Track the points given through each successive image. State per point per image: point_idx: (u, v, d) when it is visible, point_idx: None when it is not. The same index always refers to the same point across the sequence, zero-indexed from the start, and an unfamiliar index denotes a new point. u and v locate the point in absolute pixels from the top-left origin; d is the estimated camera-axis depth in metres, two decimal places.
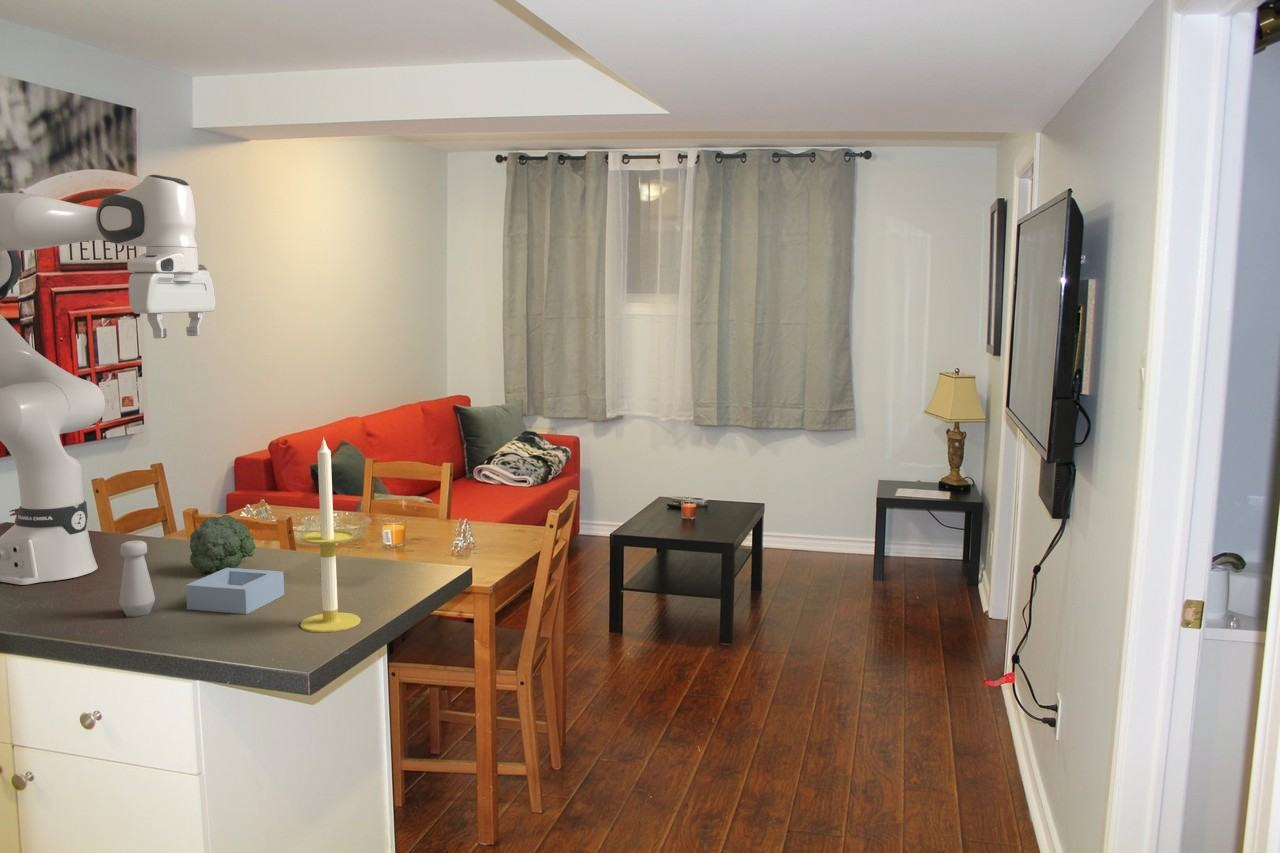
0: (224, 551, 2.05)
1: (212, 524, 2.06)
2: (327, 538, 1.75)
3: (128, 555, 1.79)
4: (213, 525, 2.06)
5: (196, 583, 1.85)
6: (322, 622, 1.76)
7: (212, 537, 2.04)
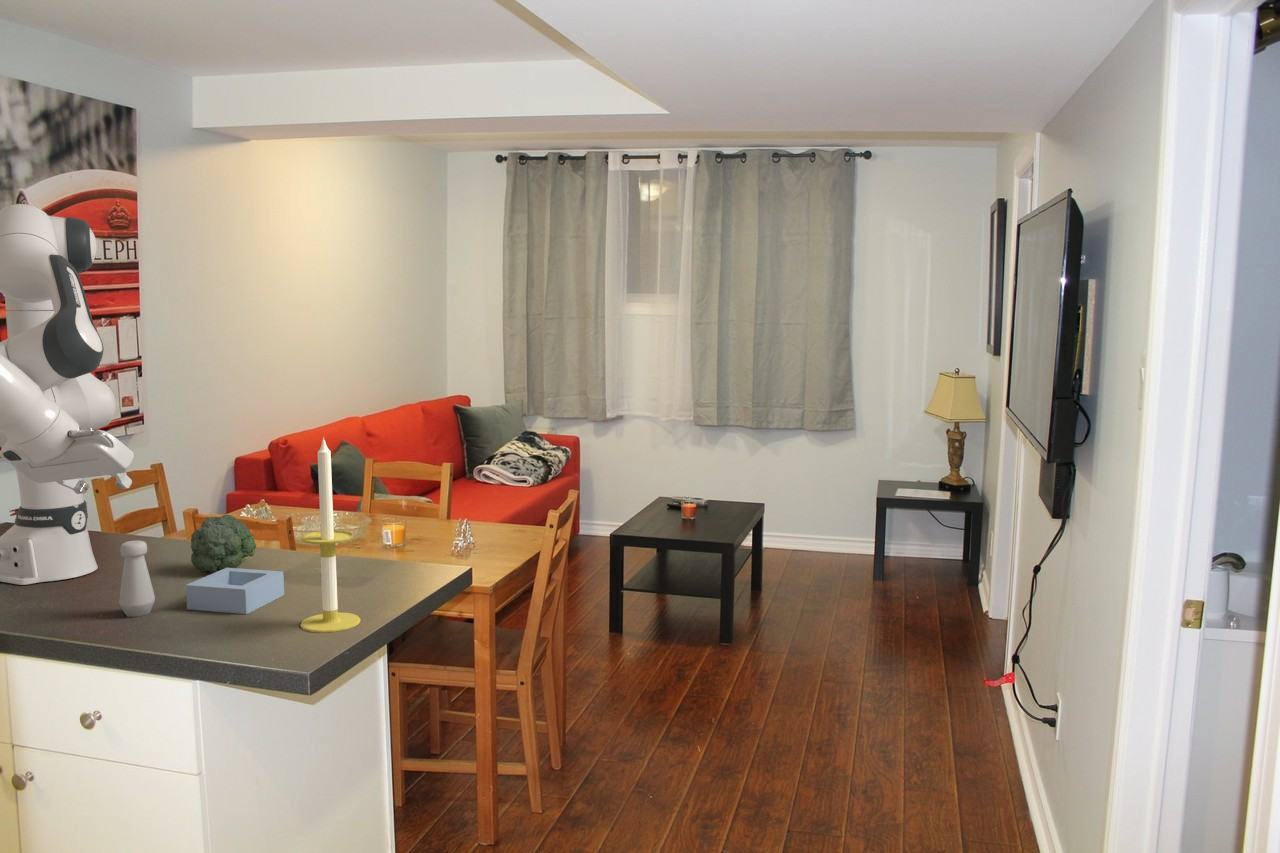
0: (225, 550, 2.05)
1: (213, 524, 2.07)
2: (327, 538, 1.75)
3: (128, 555, 1.79)
4: (214, 525, 2.06)
5: (196, 583, 1.85)
6: (322, 622, 1.76)
7: (213, 537, 2.05)
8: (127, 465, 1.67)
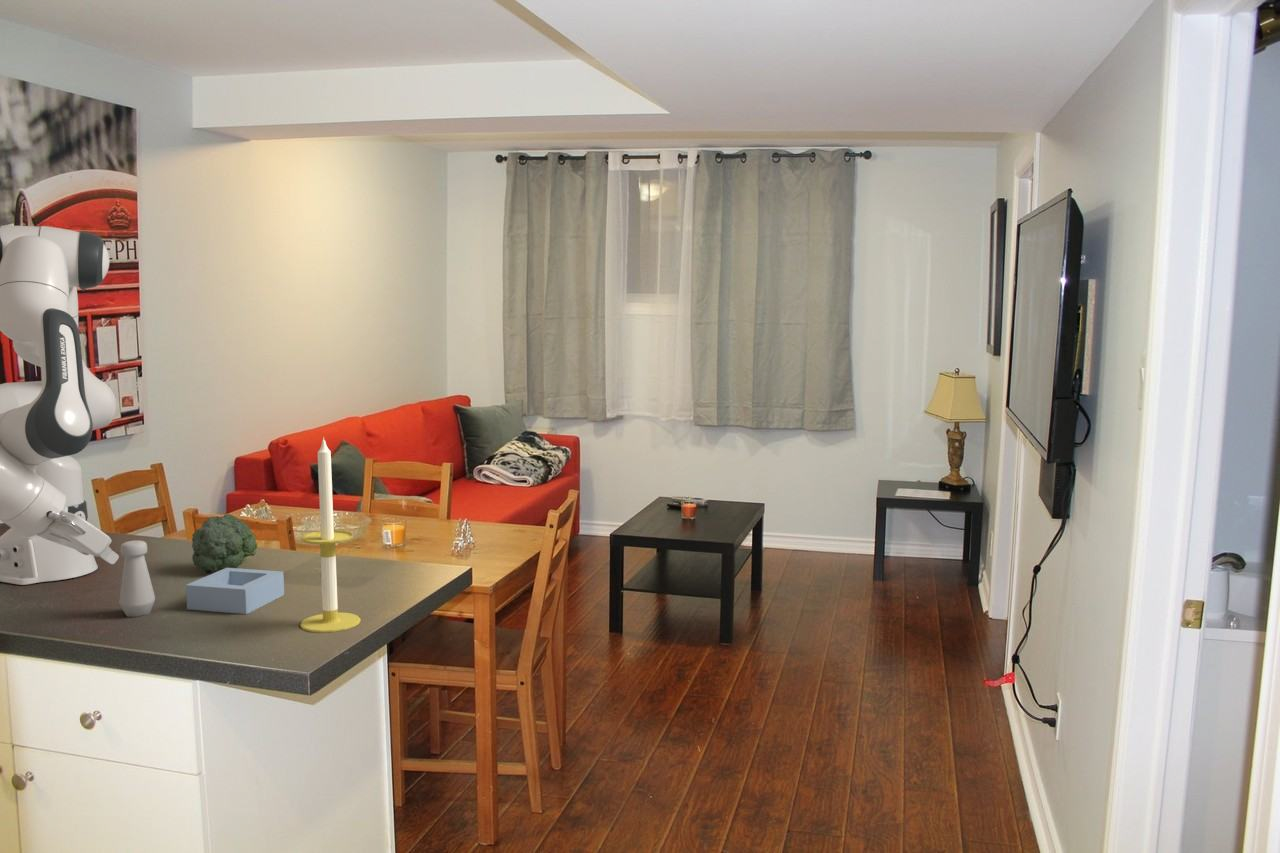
0: (226, 550, 2.06)
1: (214, 523, 2.07)
2: (327, 538, 1.75)
3: (128, 555, 1.79)
4: (215, 524, 2.07)
5: (196, 583, 1.85)
6: (322, 622, 1.76)
7: (214, 536, 2.05)
8: (99, 551, 1.67)
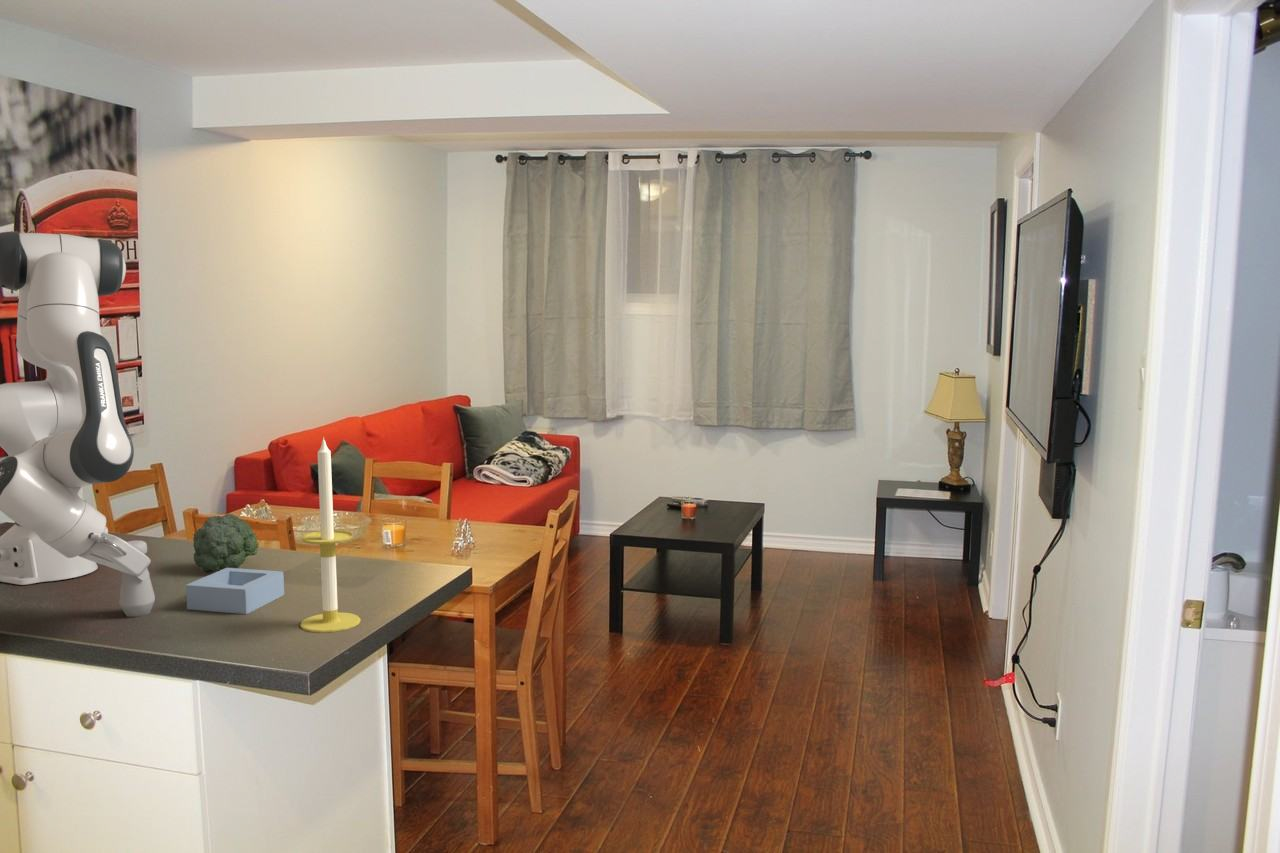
0: (228, 549, 2.06)
1: (216, 523, 2.07)
2: (327, 538, 1.75)
3: None
4: (217, 524, 2.07)
5: (196, 583, 1.85)
6: (322, 622, 1.76)
7: (216, 536, 2.05)
8: (139, 571, 1.72)
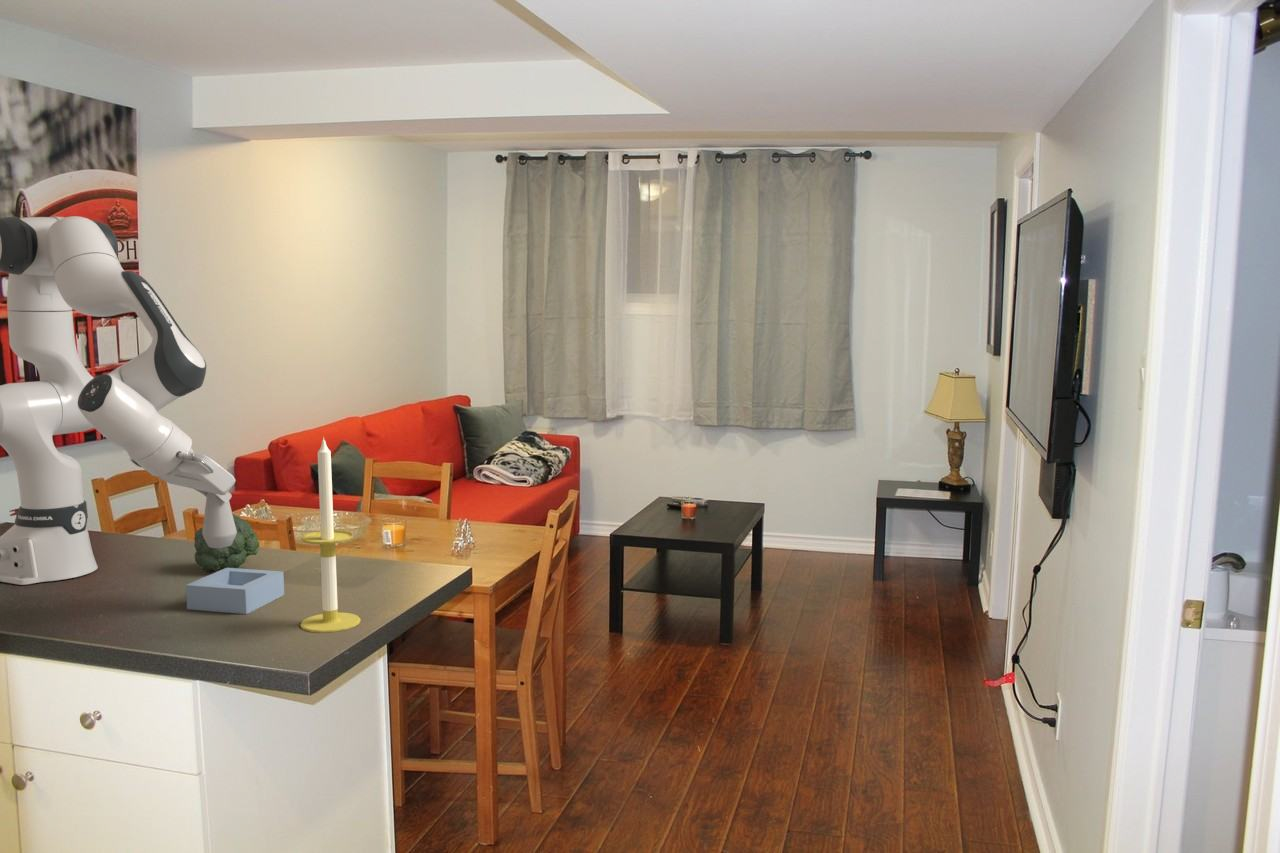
0: (229, 549, 2.07)
1: None
2: (327, 538, 1.75)
3: None
4: None
5: (196, 583, 1.85)
6: (322, 622, 1.76)
7: None
8: (225, 489, 1.76)
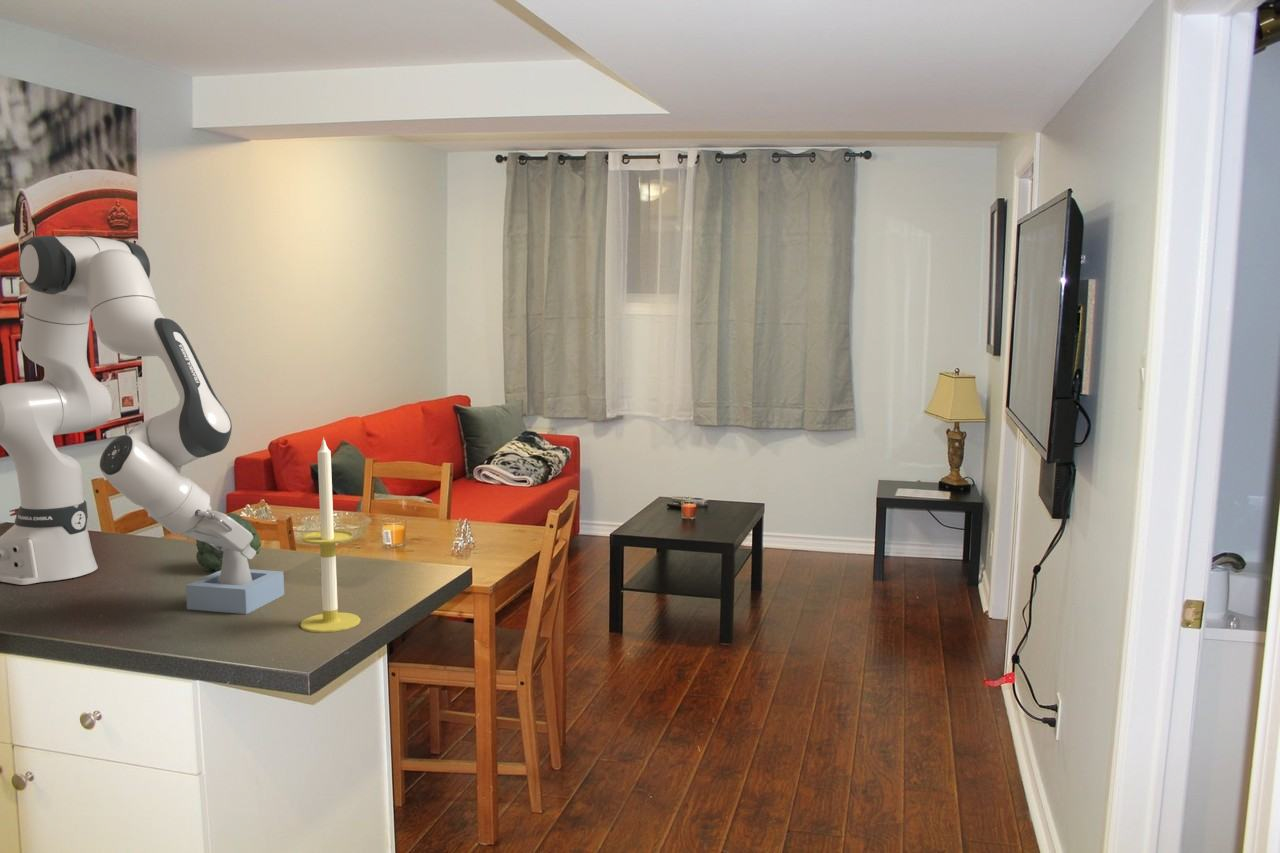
0: None
1: None
2: (327, 538, 1.75)
3: None
4: None
5: (196, 583, 1.85)
6: (322, 622, 1.76)
7: None
8: (244, 547, 1.79)
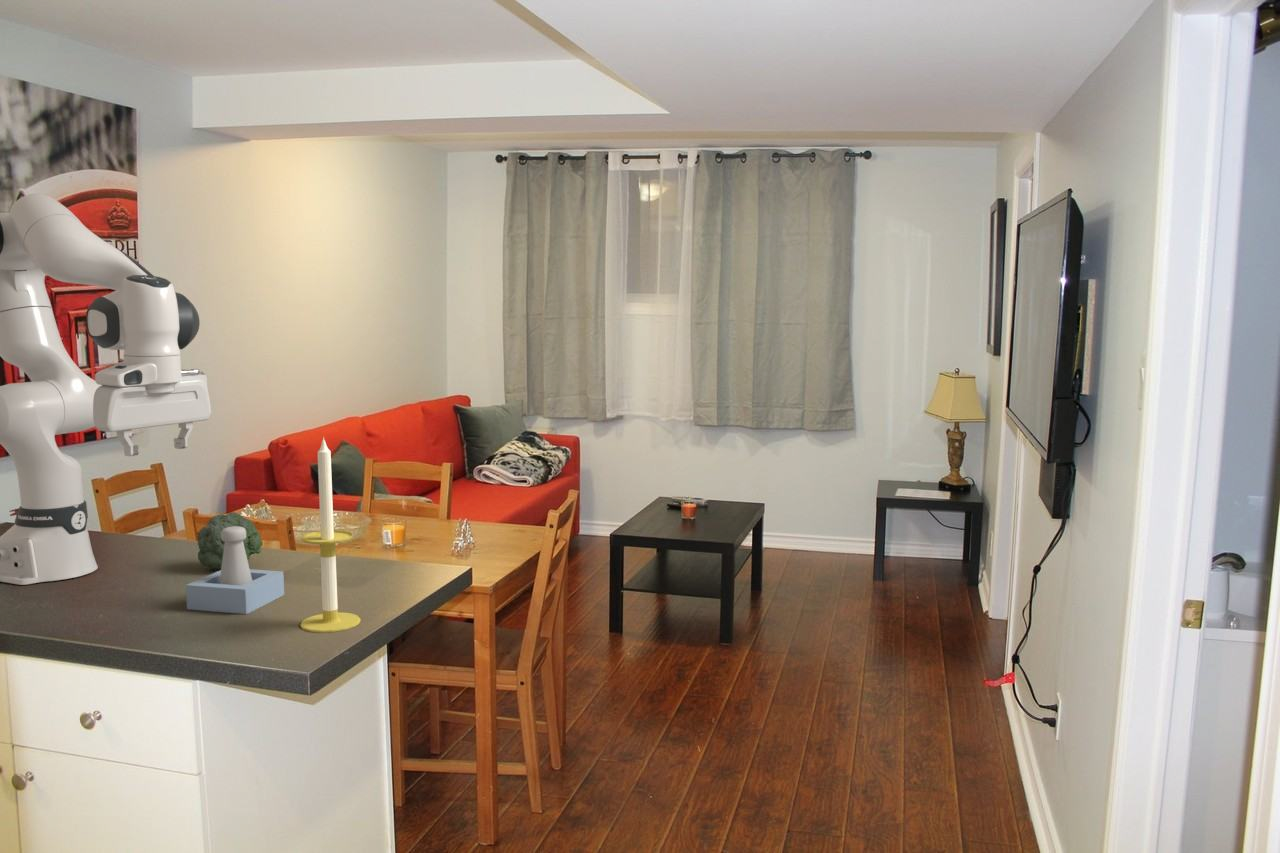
0: None
1: (220, 521, 2.09)
2: (327, 538, 1.75)
3: (230, 540, 1.86)
4: (221, 522, 2.08)
5: (196, 583, 1.85)
6: (322, 622, 1.76)
7: (220, 534, 2.07)
8: None
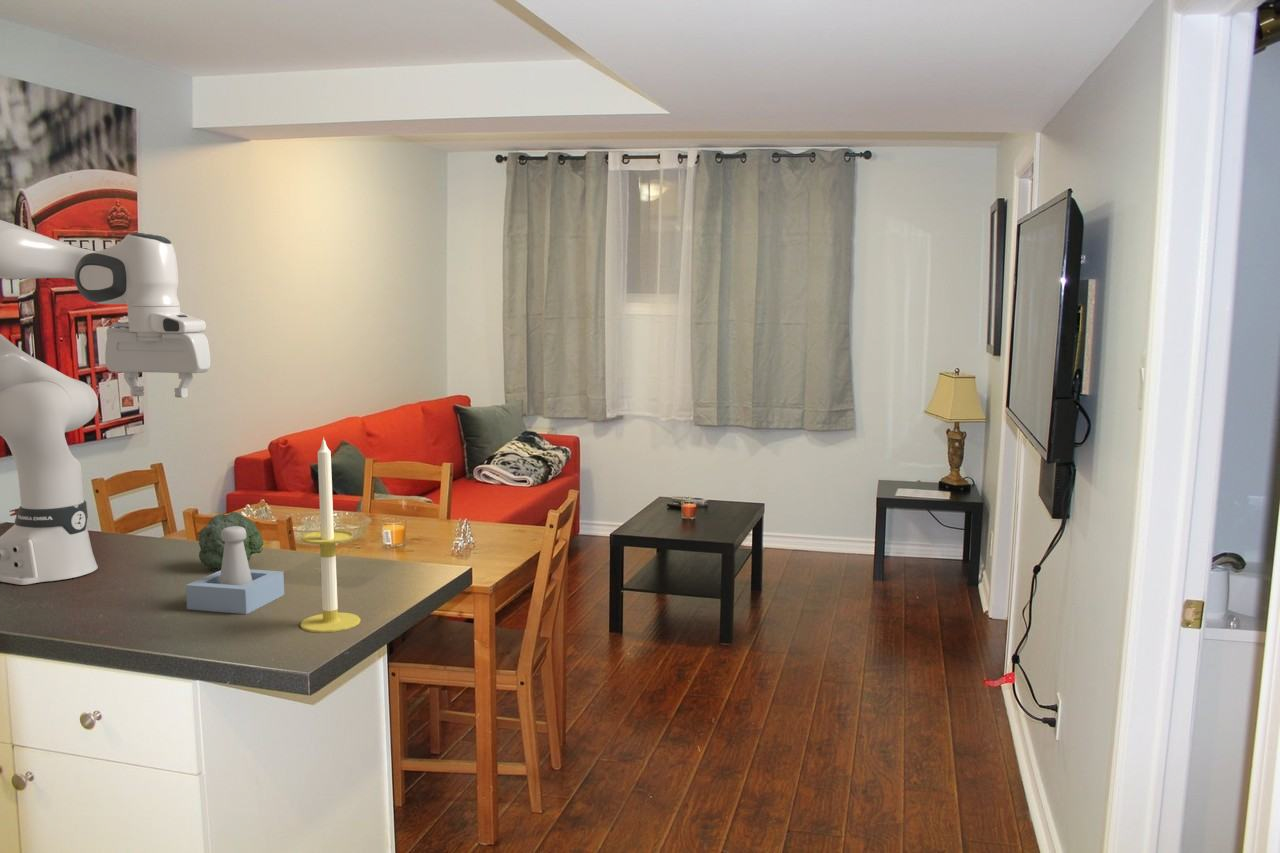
0: None
1: (221, 521, 2.09)
2: (327, 538, 1.75)
3: (230, 540, 1.86)
4: (222, 522, 2.09)
5: (196, 583, 1.85)
6: (322, 622, 1.76)
7: None
8: None
